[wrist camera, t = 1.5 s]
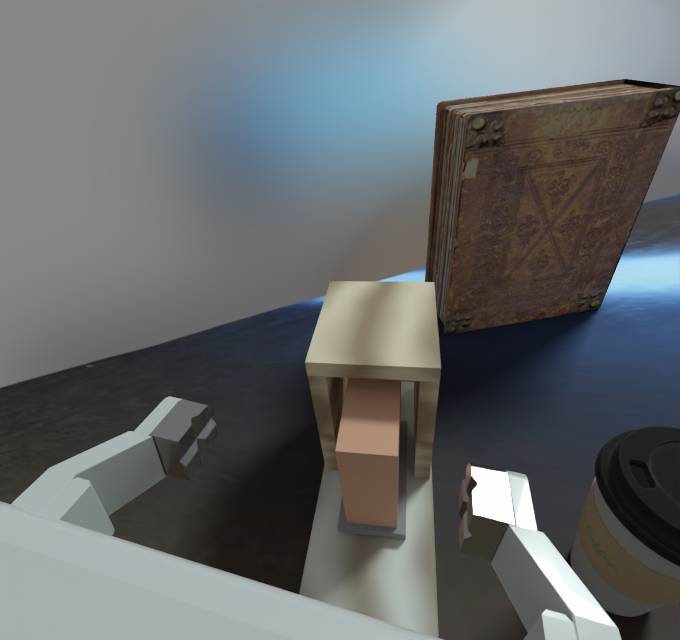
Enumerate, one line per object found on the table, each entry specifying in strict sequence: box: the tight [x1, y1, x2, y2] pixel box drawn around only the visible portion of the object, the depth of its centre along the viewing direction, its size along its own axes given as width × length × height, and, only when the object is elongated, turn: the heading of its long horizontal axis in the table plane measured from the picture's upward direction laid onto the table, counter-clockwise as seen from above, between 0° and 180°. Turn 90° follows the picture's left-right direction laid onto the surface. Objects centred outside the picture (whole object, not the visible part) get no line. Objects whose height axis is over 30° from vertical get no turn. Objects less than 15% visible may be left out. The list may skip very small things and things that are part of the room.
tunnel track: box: [299, 281, 441, 638], centre depth 36 cm, size 11×44×18 cm, turn 172°
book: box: [425, 79, 680, 335], centre depth 53 cm, size 25×9×30 cm, turn 99°
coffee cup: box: [570, 426, 680, 617], centre depth 28 cm, size 9×9×15 cm
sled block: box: [335, 378, 407, 540], centre depth 35 cm, size 6×12×12 cm, turn 172°
